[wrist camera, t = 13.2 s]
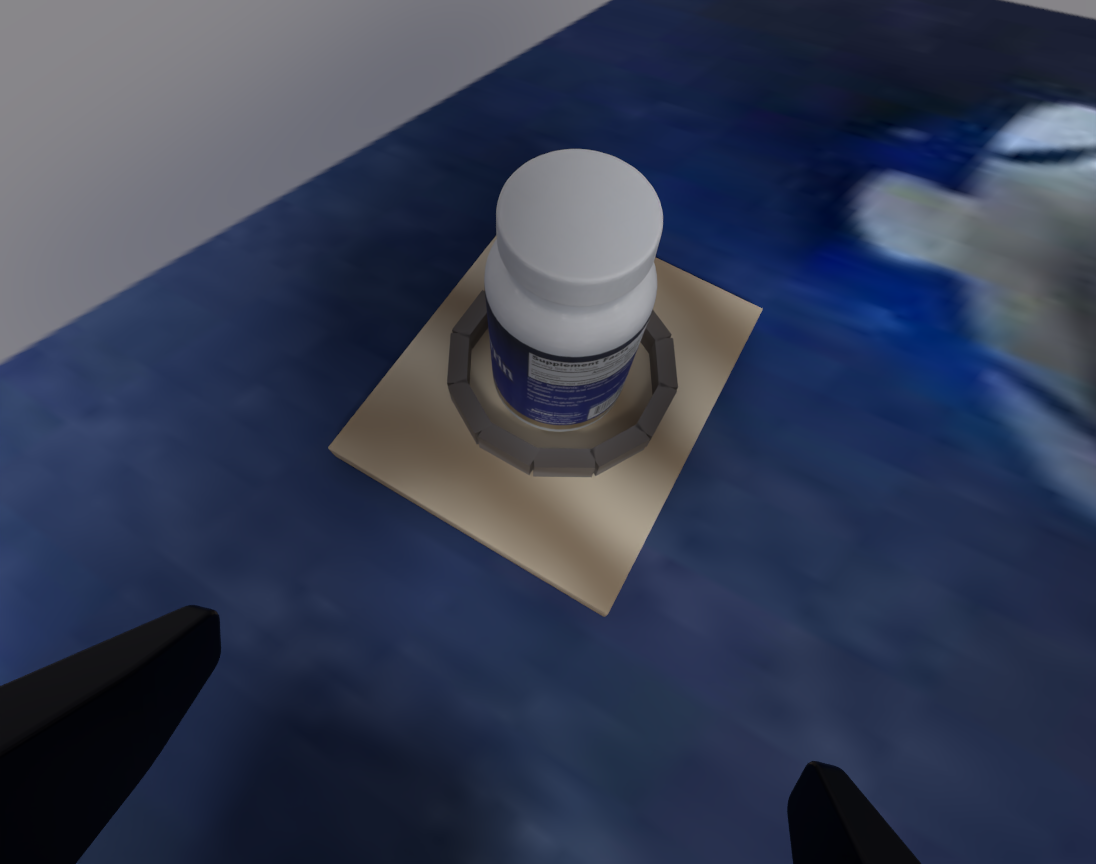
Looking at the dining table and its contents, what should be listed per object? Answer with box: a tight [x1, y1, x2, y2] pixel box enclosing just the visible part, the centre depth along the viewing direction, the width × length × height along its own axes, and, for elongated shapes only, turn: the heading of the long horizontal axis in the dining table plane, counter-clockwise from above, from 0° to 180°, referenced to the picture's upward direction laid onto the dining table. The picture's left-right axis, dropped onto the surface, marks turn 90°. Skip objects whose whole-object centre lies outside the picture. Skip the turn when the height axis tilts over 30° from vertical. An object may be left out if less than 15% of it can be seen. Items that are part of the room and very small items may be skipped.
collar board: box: [328, 235, 763, 617], centre depth 25 cm, size 16×13×2 cm
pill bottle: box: [484, 149, 663, 432], centre depth 20 cm, size 6×6×10 cm
